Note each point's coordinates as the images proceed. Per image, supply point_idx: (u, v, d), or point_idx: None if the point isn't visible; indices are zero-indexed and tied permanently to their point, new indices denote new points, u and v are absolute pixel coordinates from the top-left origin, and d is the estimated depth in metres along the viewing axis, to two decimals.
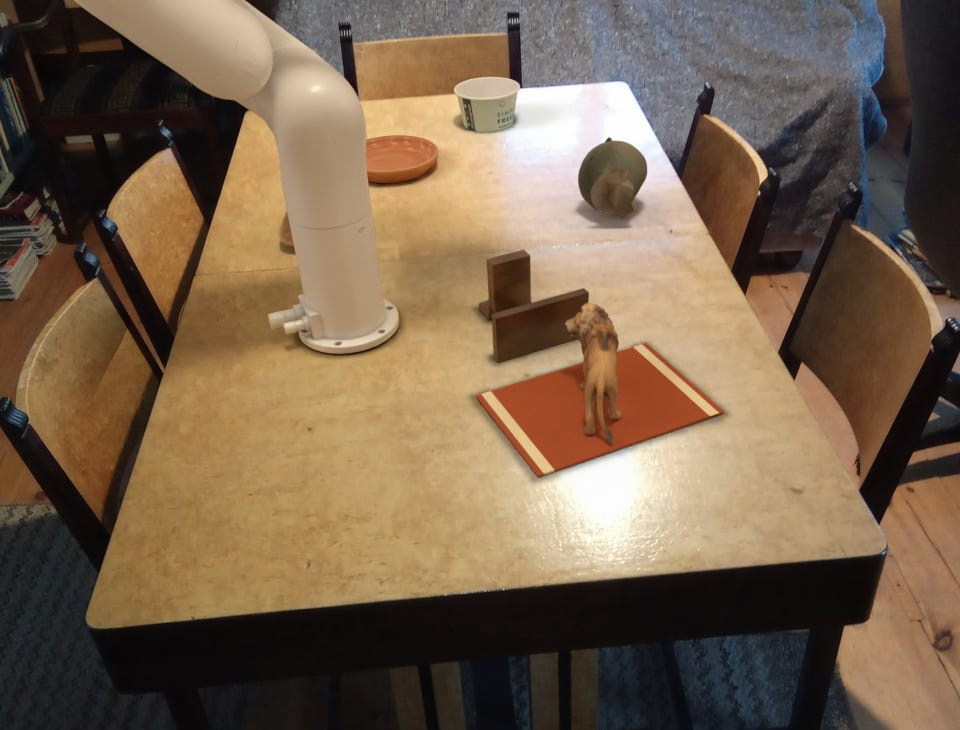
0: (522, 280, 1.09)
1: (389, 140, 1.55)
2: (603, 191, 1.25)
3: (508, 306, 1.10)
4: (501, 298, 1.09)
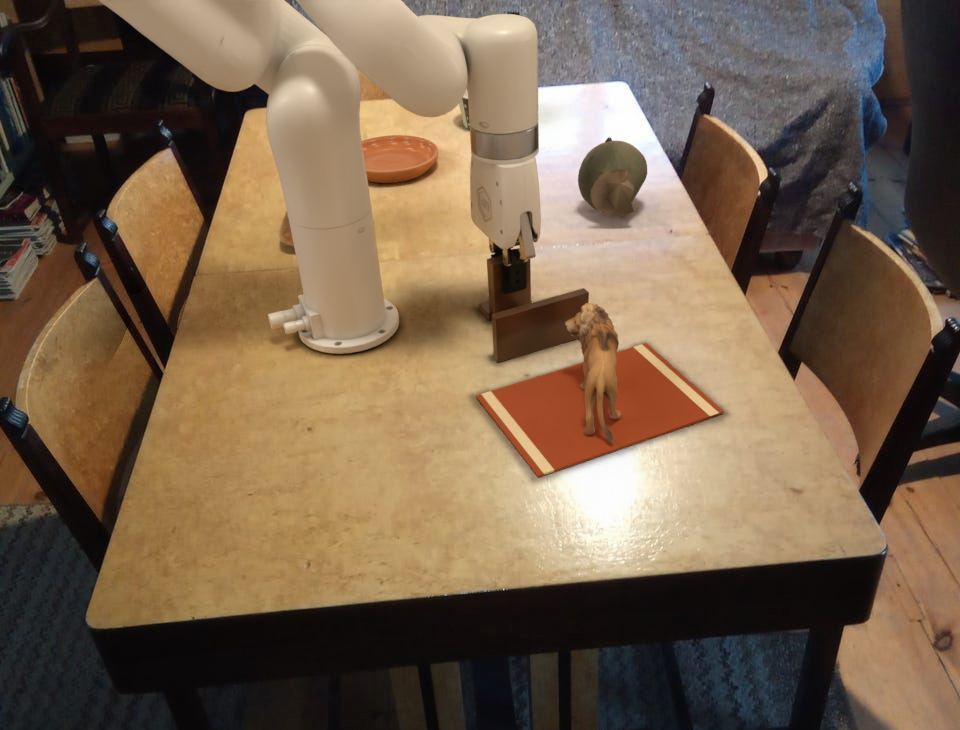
0: None
1: (389, 140, 1.55)
2: (603, 191, 1.25)
3: (508, 306, 1.10)
4: (501, 298, 1.09)
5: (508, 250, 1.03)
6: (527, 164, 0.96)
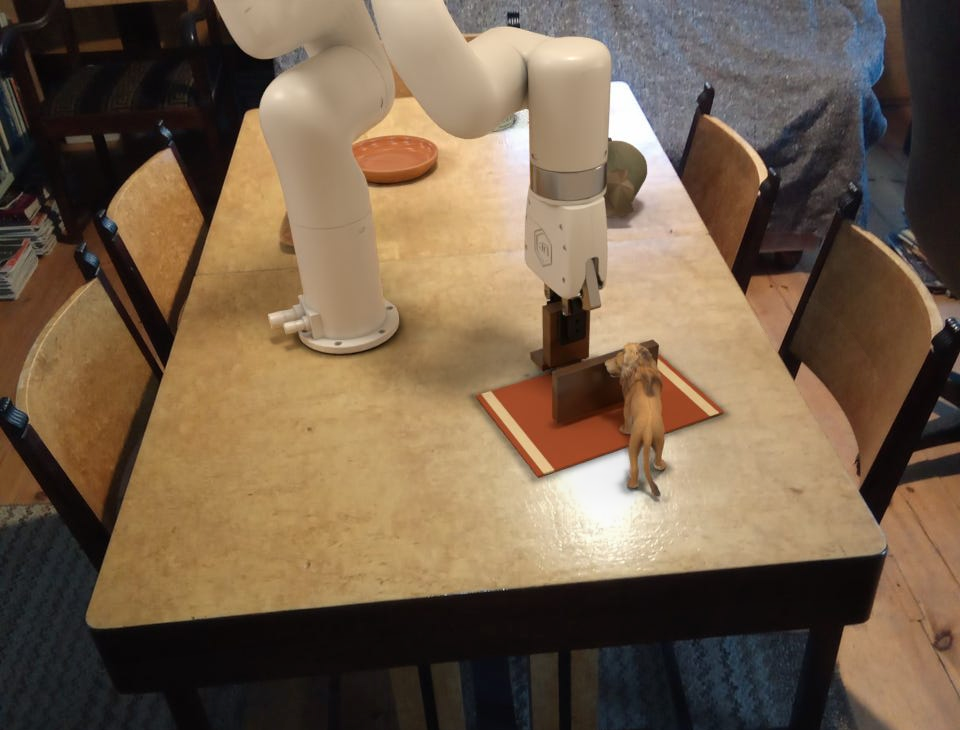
0: None
1: (389, 140, 1.55)
2: None
3: (564, 357, 0.99)
4: (558, 349, 0.98)
5: (568, 298, 0.92)
6: (595, 205, 0.85)
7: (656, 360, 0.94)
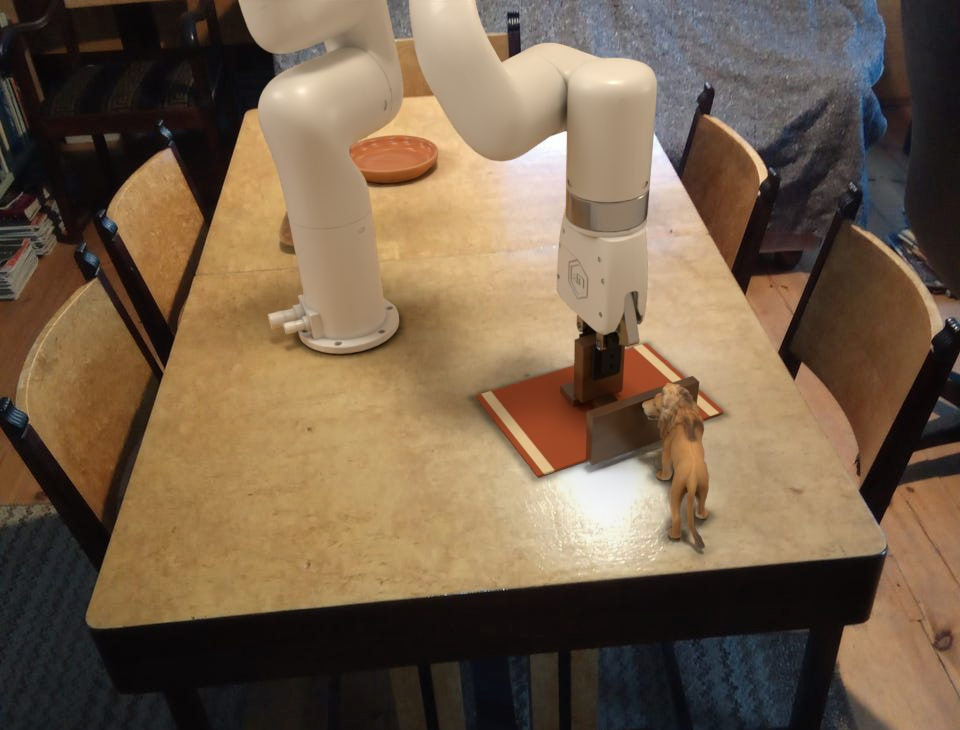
0: None
1: (389, 140, 1.55)
2: None
3: (597, 392, 0.94)
4: (590, 384, 0.93)
5: None
6: (636, 237, 0.80)
7: (696, 398, 0.88)
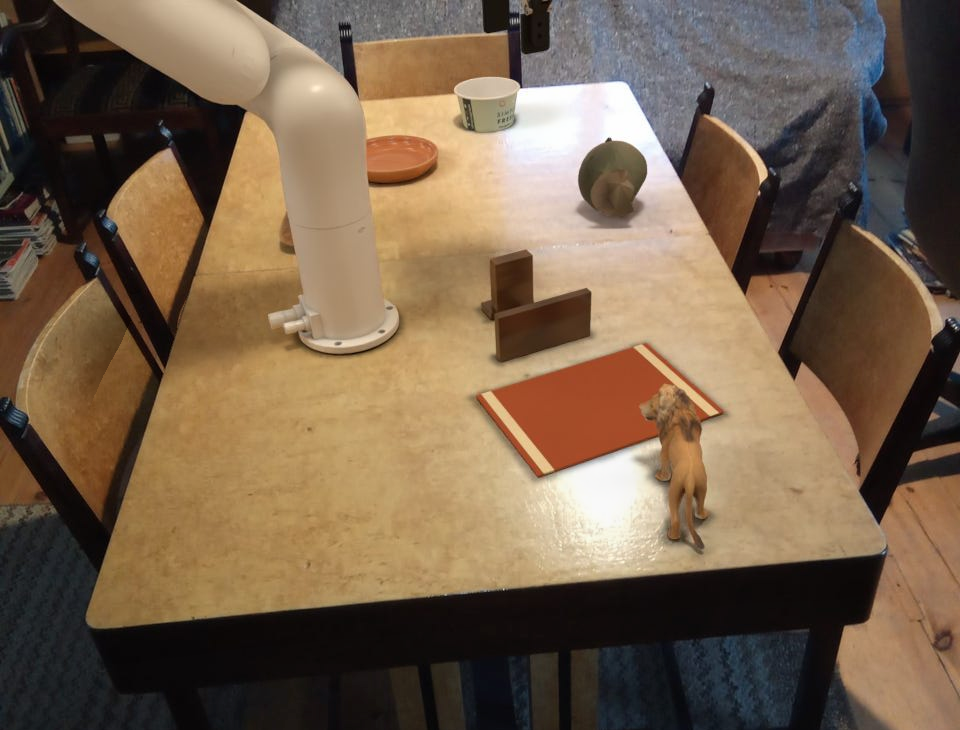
0: (524, 279, 1.09)
1: (389, 140, 1.55)
2: (603, 191, 1.25)
3: (511, 306, 1.10)
4: (504, 298, 1.09)
5: None
6: None
7: (589, 306, 1.05)
